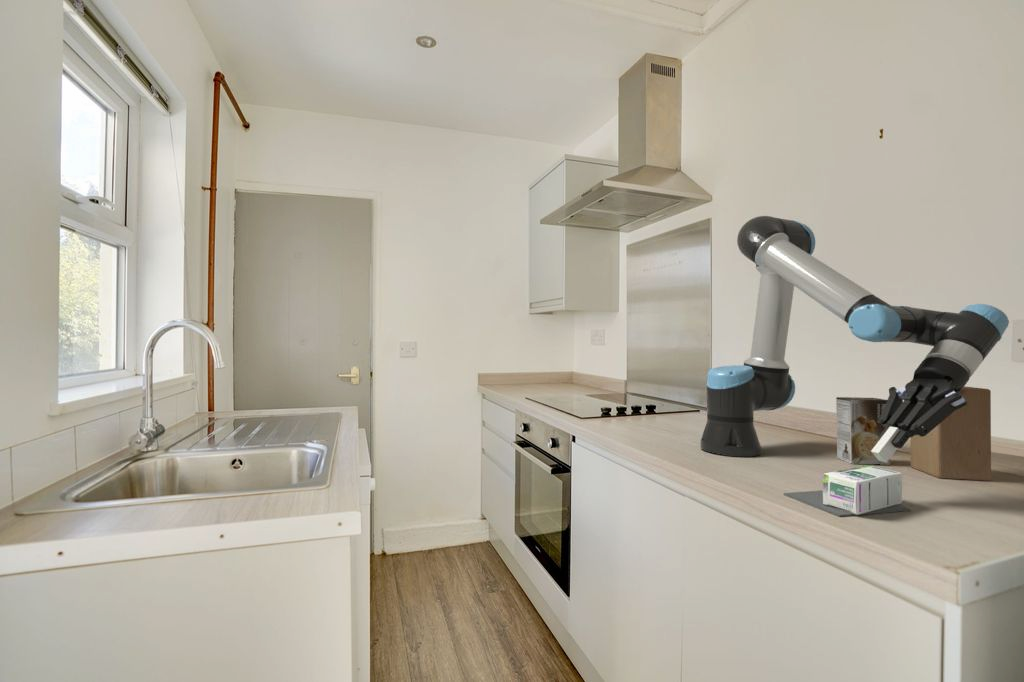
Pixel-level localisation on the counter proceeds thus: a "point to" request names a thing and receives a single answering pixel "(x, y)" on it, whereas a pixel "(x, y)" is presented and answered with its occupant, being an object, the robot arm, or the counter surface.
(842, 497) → the syrup box
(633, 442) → the counter surface
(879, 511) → the mat
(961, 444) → the wooden block
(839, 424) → the coffee box
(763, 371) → the robot arm
